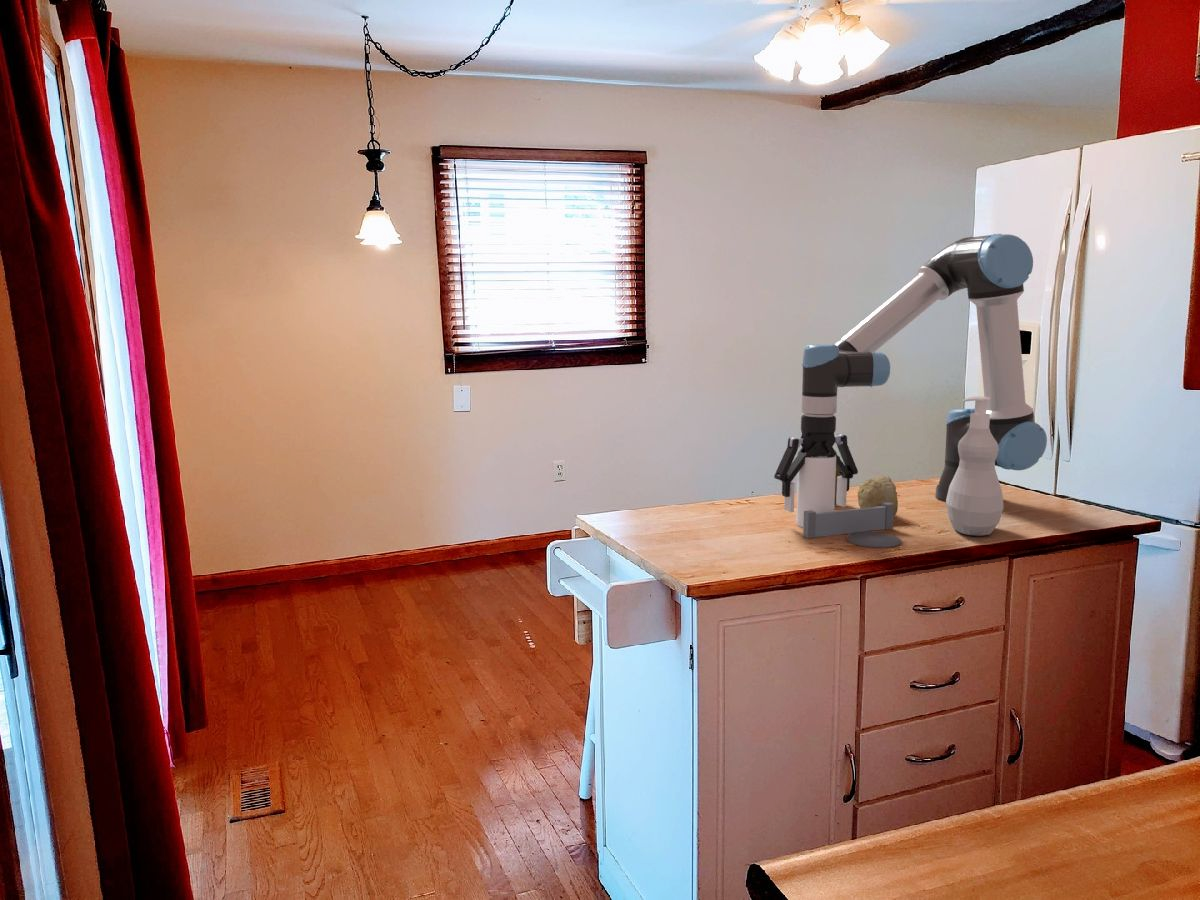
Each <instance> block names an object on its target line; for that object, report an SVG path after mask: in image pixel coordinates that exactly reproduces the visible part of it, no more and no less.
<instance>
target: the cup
mask: <svg viewBox="0 0 1200 900" xmlns="http://www.w3.org/2000/svg"><path fill="white" fill-rule="evenodd" d="M805 453H806V452H805ZM835 477H836V455H835V456H834V457H831V458H828V457H827V456H818V457H812V456H811V458H809V457H806V458H805V464H804V465H803V466H802V468H801V469H800V471H799V472H798V473H797V486H796V487H797V488H796V489H797V491H796V492H797V493H796V520H795V521H796V523H795V524H796V525H797V526H798V527H800V528H803V524H804V511H809V510H812V511H814V512H816V513H820V512H829V511H835V506H834V503H835Z"/></svg>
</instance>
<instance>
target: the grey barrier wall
mask: <svg viewBox="0 0 1200 900" xmlns="http://www.w3.org/2000/svg"><path fill="white" fill-rule="evenodd" d="M893 514H894V504H892V503H889V502H888V503H882V506H878V507H868V508H860V507H859V508H851V509H843V510H842V509H840V510H834V511H829V512H820V513H816V512H814V511H812V510H809V511H804V524H803V527H802V528H803V529H802V530H803V531H802V536H803V537H804V538H806V539H815V538H819V537H828V536H837V535H839V536H840V535H846V534H853V533H858V532H873V531H881V530H882V531H883V530H893V529H894V516H893Z"/></svg>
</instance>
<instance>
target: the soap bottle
mask: <svg viewBox="0 0 1200 900" xmlns="http://www.w3.org/2000/svg"><path fill="white" fill-rule="evenodd" d="M990 400H991V399H990V398H989V397H984V396H970V397H967V398H963V399H962V402H963V403H964V402H973V401H974V409H975V413H971V414H970V427H969V429H968V431H967V433H966V434H965V435H964V436H963V437H962V438H961V440H960V441H959V443H958V453H959V457H960V462H959V467H958V469H957V471H956V473H955V475H954V478H953V480H952V482H951V484H950V486H949V490H948V494H947V498H946V501H945V504H946V511H947V516H948V519H949V521H950V523H951V525H952V527H953V529H954V530H955V531H957V532H959V533H960V534H964V535H968V536H976V537H977V536H979V537H980V536H987V535H990V534H992V533H993V531H994V530H995V529H996V527H997V526H998V524H999V523H1000V521H1001V517H1002V514H1003V512H1004V506H1005V504H1004V498H1003V497H1004V496H1003V491H1002V487H1001V484H1000V481H999V477H998V474H997V472H996V471H997V470H996V466H995V460H996V458H997V455H998V451H999V448H998V443H997V442H996V440H995V439H994V437H993V436H992V434H991V432H990V428H989V421H990V414H986V407H987V401H990Z"/></svg>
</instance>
